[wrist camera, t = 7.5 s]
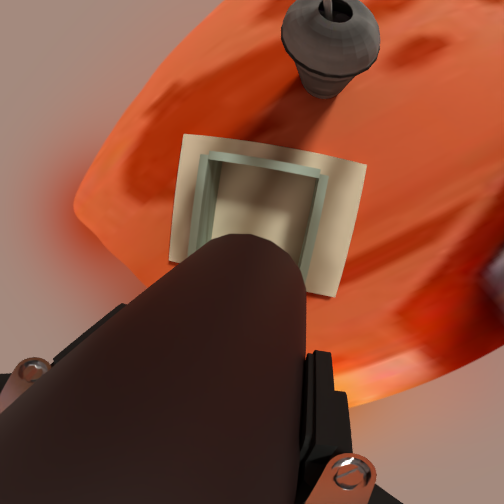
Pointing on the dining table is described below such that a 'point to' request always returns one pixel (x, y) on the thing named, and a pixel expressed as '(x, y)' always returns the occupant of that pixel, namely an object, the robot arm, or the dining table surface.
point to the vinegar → (174, 393)
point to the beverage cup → (330, 43)
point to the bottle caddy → (268, 202)
